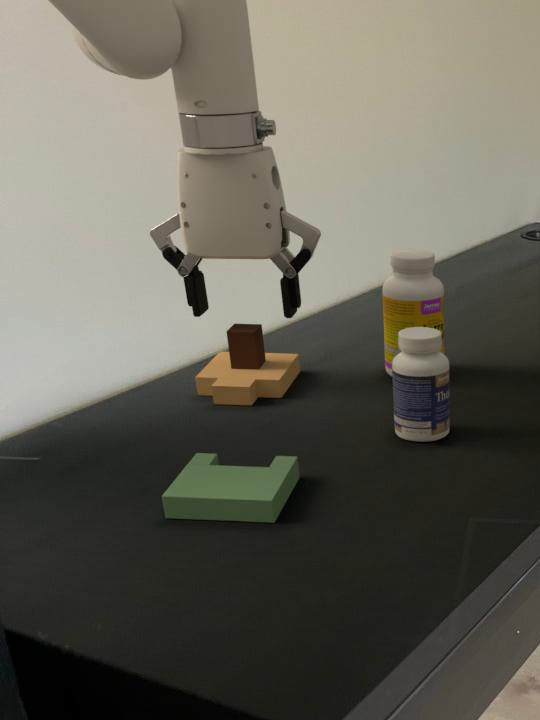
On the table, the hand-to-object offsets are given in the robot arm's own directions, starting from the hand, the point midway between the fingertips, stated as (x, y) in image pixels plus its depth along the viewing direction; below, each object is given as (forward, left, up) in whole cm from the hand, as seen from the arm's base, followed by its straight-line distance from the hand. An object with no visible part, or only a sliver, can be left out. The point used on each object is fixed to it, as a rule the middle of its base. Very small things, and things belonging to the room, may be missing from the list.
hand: (246, 314), depth 104 cm
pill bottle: (+20, -13, -8) cm, 25 cm away
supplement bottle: (+17, +5, -8) cm, 19 cm away
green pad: (+6, -29, -7) cm, 31 cm away
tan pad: (0, -1, -7) cm, 8 cm away
